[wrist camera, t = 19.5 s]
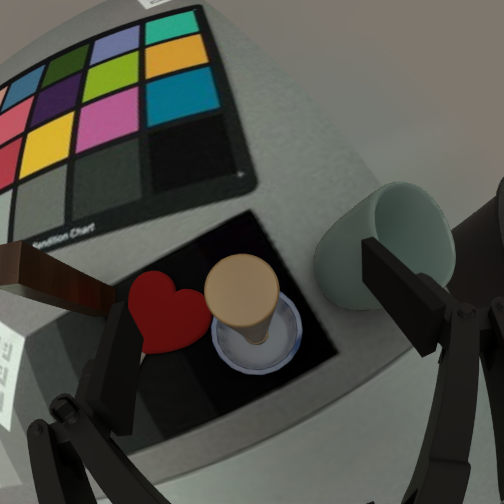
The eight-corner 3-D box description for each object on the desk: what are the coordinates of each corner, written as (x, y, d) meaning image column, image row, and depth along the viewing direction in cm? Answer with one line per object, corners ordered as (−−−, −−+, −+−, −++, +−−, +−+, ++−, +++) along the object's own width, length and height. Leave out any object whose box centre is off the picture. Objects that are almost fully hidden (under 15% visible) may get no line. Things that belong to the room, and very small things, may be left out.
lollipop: (148, 444, 23) (221, 304, 27) (145, 447, 22) (220, 302, 26) (80, 396, 25) (146, 264, 28) (75, 397, 24) (143, 261, 28)
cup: (319, 330, 25) (401, 316, 16) (287, 241, 26) (351, 186, 17) (386, 300, 27) (468, 275, 18) (357, 223, 29) (427, 175, 20)
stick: (267, 319, 26) (281, 239, 7) (270, 343, 25) (295, 330, 6) (243, 322, 26) (191, 250, 7) (245, 346, 25) (199, 342, 6)
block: (115, 288, 28) (21, 239, 15) (116, 315, 27) (17, 283, 14) (93, 290, 28) (-5, 245, 15) (93, 316, 27) (-9, 286, 14)
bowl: (289, 291, 27) (295, 279, 23) (299, 364, 26) (308, 368, 21) (216, 300, 27) (207, 290, 23) (224, 374, 25) (217, 379, 21)
